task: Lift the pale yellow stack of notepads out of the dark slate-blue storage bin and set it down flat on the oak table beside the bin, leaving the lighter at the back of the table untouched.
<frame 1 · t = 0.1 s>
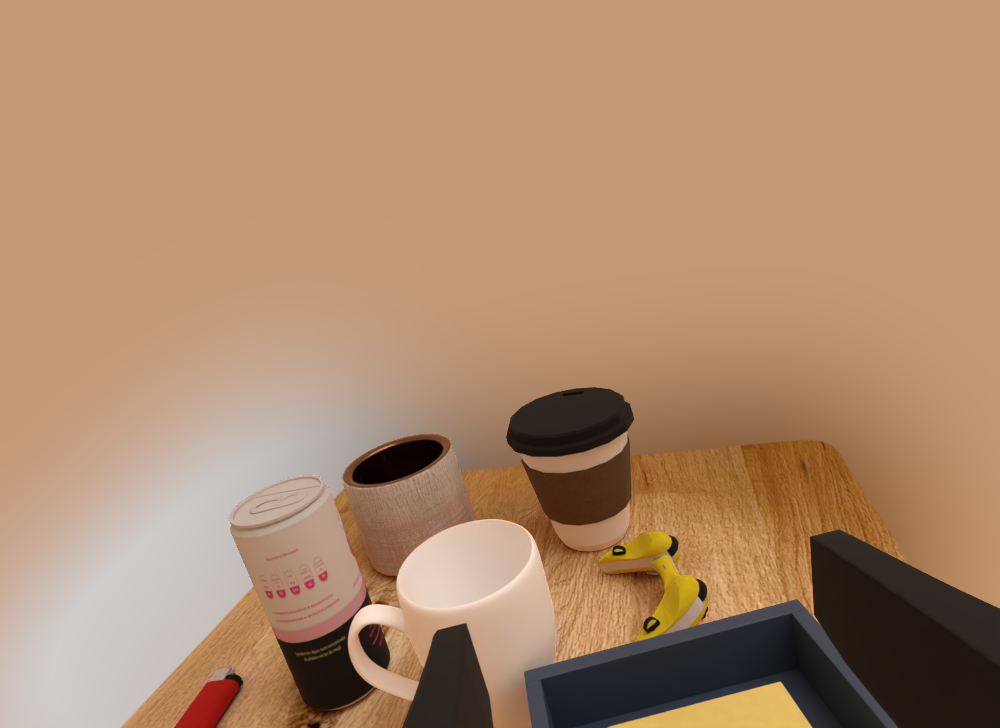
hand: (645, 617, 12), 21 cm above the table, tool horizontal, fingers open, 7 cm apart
coffee cup: (594, 532, 52), on the table
mug: (485, 726, 36), on the table
game controller: (656, 608, 41), on the table
beverage can: (349, 678, 42), on the table
planter: (426, 546, 57), on the table
lighter: (204, 727, 41), on the table
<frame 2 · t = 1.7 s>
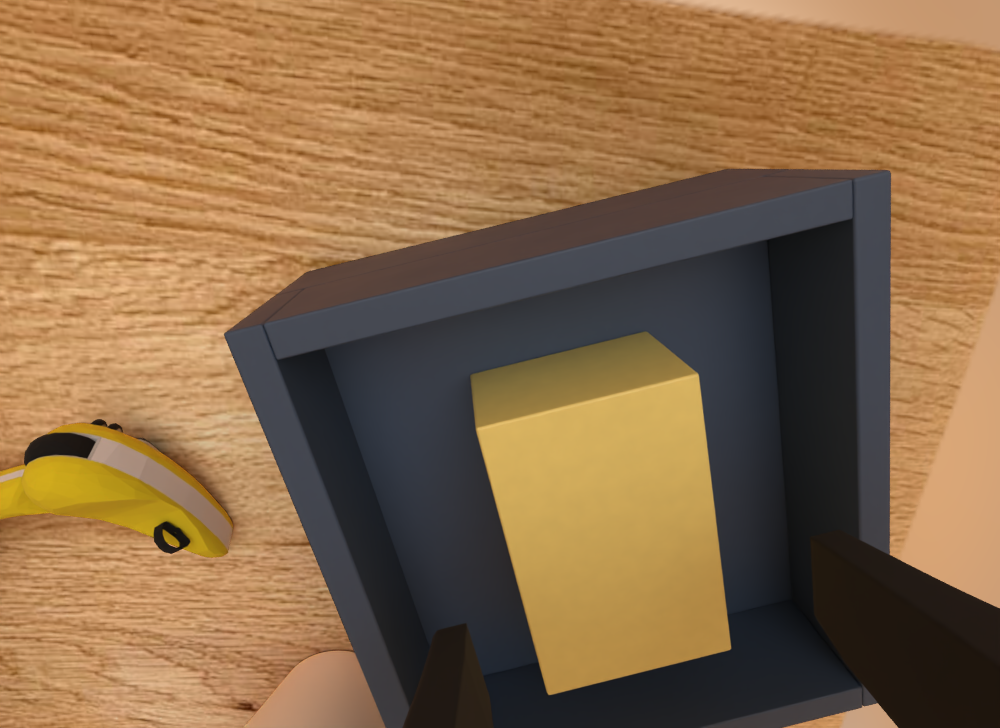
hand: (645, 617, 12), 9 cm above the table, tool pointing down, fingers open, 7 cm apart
mug: (355, 717, 24), on the table
game controller: (69, 491, 20), on the table
notepads: (583, 476, 17), point 3 cm above the table, touching bin
bin: (561, 426, 20), on the table
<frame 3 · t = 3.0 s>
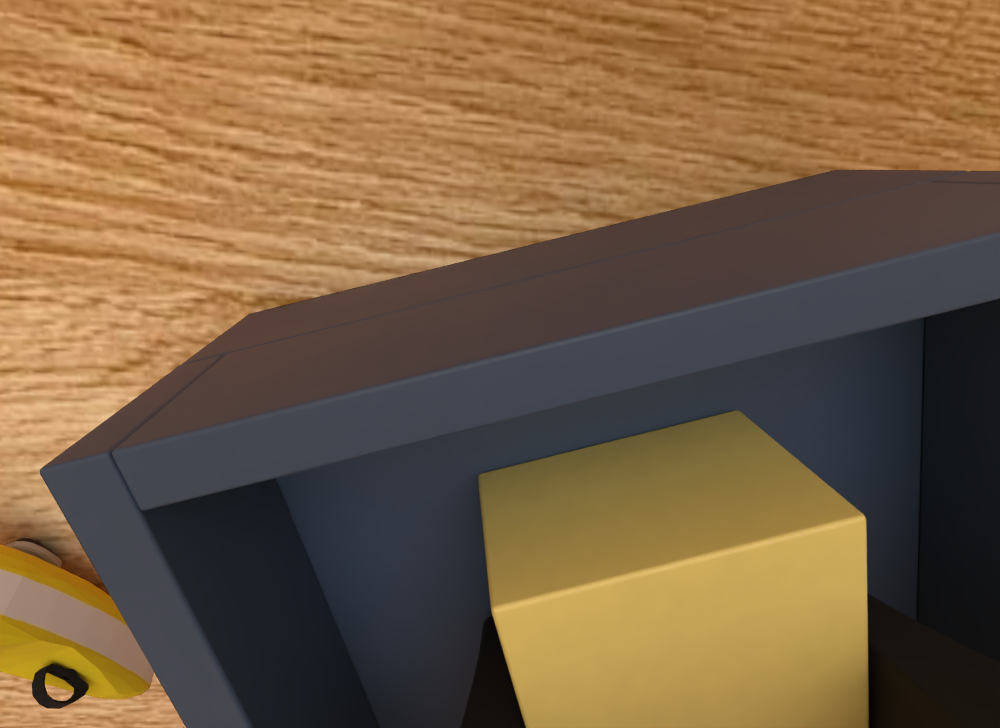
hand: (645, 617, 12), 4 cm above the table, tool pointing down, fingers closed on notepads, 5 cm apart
notepads: (638, 607, 12), point 4 cm above the table, touching bin, gripper
bin: (598, 512, 15), on the table
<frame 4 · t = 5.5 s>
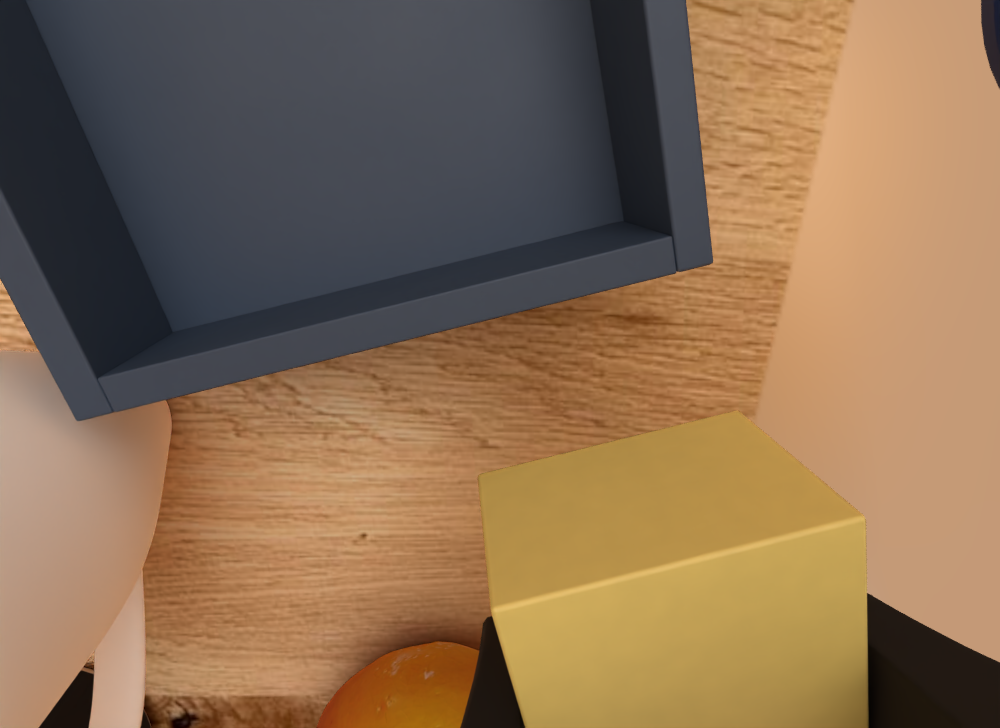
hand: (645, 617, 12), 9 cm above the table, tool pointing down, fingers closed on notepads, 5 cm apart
mug: (134, 459, 20), on the table
notepads: (638, 607, 12), point 9 cm above the table, touching gripper
beverage can: (73, 715, 23), on the table
fruit: (431, 684, 24), on the table
bin: (342, 28, 16), on the table
when the fingers open (0 cm above the table, at t = 8.2 s): notepads stays where it is, on the table.
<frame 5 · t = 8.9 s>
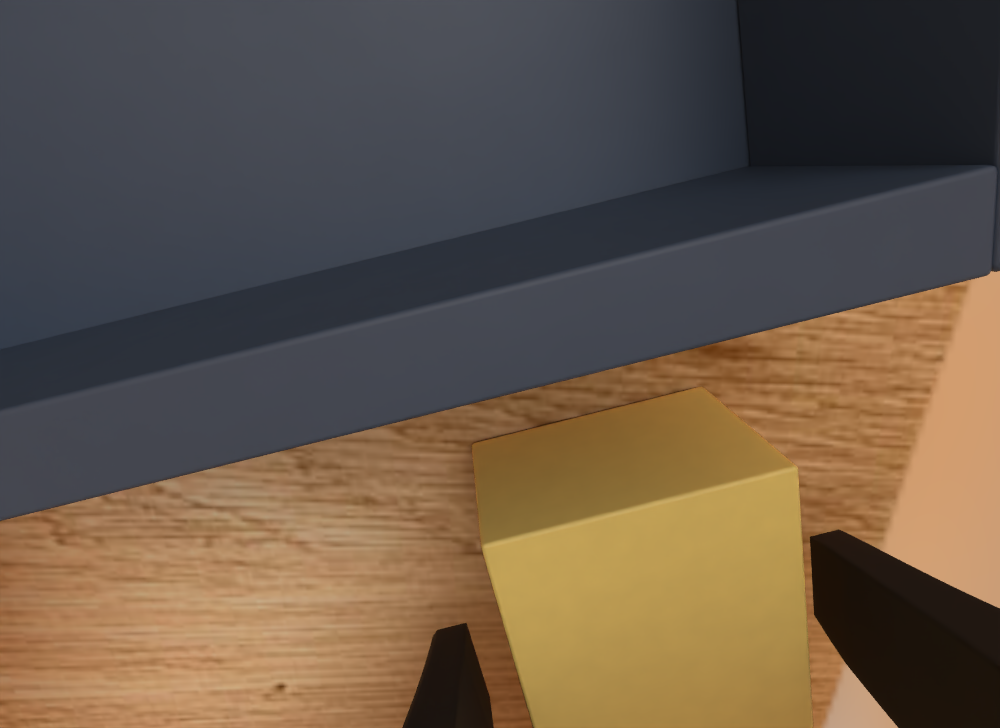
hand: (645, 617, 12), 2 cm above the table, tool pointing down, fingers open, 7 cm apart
notepads: (616, 566, 13), on the table
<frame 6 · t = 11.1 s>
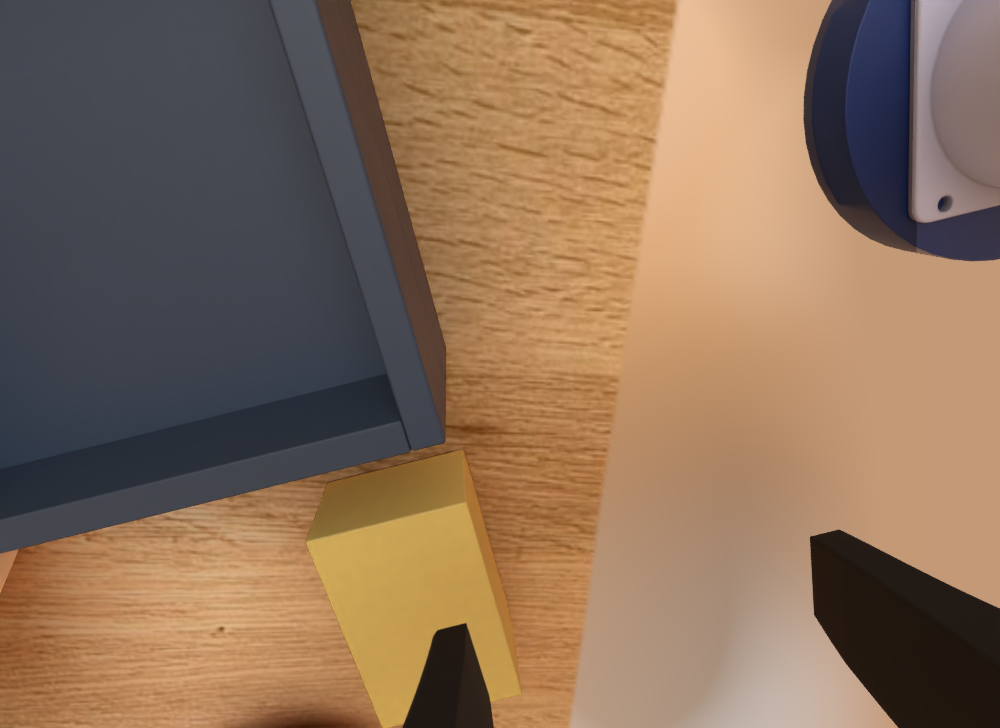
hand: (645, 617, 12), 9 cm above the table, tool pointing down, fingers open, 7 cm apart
notepads: (425, 555, 22), on the table
bin: (156, 174, 17), on the table
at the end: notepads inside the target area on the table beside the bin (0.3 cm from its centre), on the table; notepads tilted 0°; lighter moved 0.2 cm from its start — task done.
